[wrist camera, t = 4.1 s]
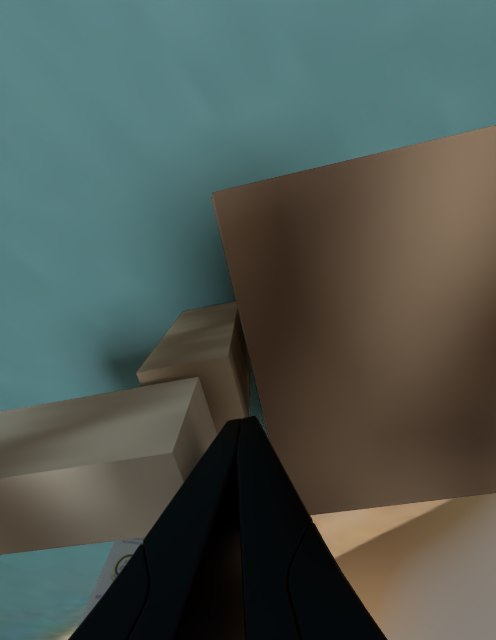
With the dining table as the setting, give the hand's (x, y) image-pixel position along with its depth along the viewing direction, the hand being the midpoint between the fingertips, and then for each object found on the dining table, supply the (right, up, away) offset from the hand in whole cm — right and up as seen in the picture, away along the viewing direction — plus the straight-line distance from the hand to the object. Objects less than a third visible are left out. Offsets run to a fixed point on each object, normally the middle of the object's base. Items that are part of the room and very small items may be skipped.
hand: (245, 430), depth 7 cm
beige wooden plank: (-5, -1, +1) cm, 5 cm away
